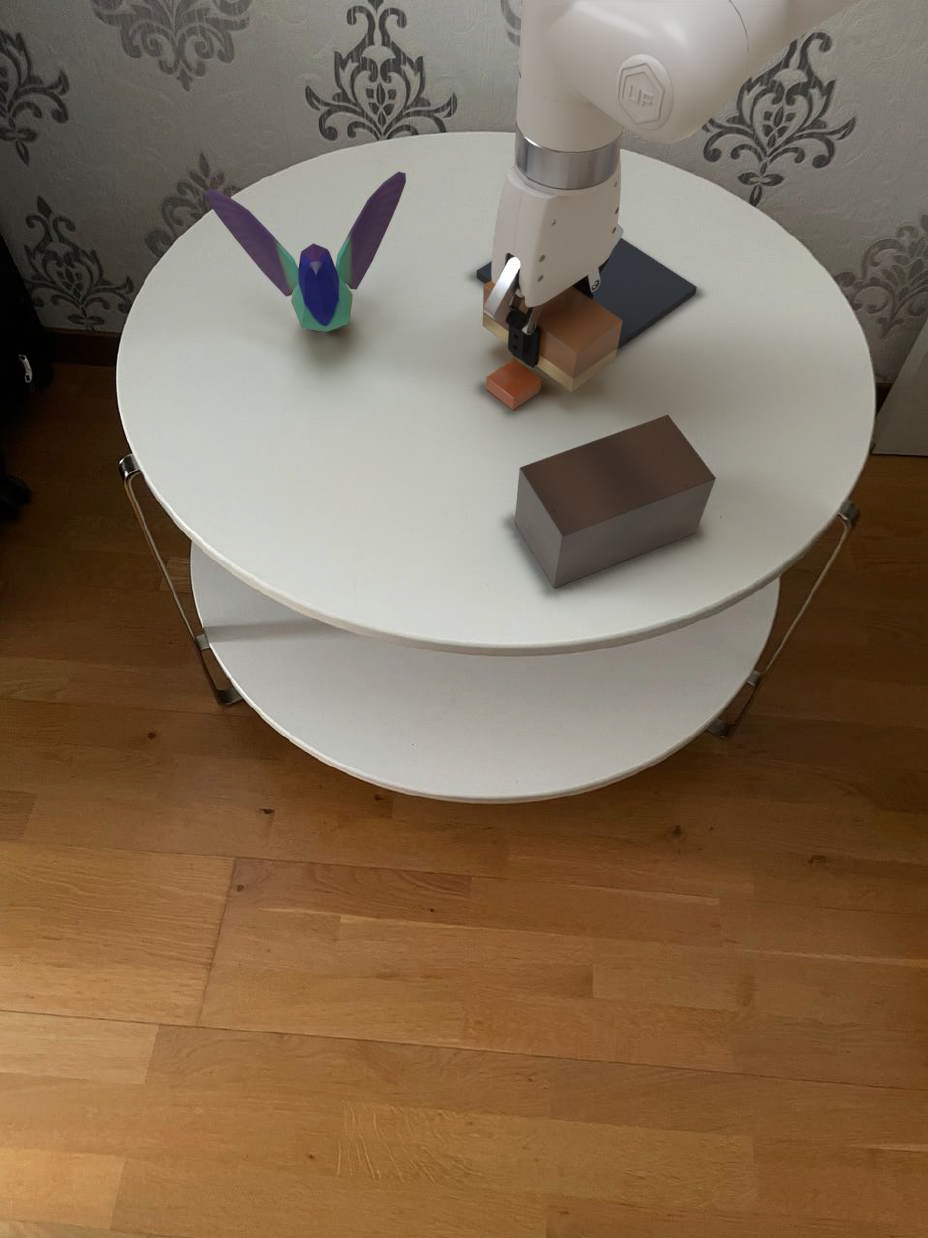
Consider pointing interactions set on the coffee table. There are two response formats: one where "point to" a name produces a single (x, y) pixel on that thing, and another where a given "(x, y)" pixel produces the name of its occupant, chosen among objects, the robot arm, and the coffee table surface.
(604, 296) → the mat
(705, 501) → the stand
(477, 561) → the coffee table surface
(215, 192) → the decorative sculpture
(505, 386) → the orange square block
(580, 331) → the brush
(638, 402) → the coffee table surface
